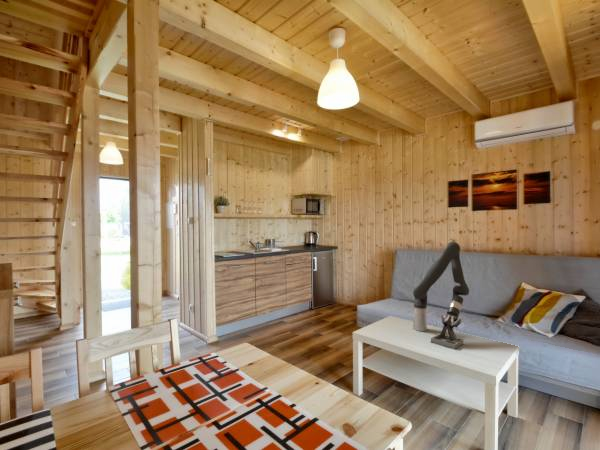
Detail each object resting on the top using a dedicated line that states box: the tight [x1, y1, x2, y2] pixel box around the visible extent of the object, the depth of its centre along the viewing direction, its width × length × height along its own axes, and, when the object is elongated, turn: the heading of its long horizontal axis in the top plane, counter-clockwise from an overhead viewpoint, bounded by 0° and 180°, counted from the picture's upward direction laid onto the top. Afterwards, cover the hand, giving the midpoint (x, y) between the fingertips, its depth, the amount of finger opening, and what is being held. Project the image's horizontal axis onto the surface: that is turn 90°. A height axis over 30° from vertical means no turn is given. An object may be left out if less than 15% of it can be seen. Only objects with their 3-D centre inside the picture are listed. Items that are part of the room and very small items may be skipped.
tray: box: [430, 333, 464, 350], centre depth 213 cm, size 16×14×3 cm
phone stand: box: [439, 320, 457, 341], centre depth 213 cm, size 9×6×12 cm, turn 45°
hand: (447, 330), depth 213 cm, fingers closed on phone stand, 3 cm apart
